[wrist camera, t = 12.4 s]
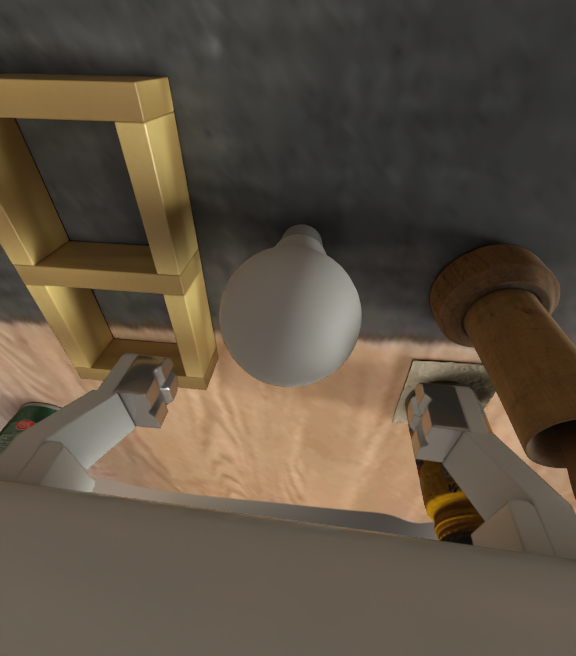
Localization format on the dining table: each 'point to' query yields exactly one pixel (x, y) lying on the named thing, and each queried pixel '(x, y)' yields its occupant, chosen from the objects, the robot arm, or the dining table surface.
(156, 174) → the rack
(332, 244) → the dining table surface
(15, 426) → the canned tomato
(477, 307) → the mortar and pestle
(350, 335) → the lightbulb
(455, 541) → the condiment
